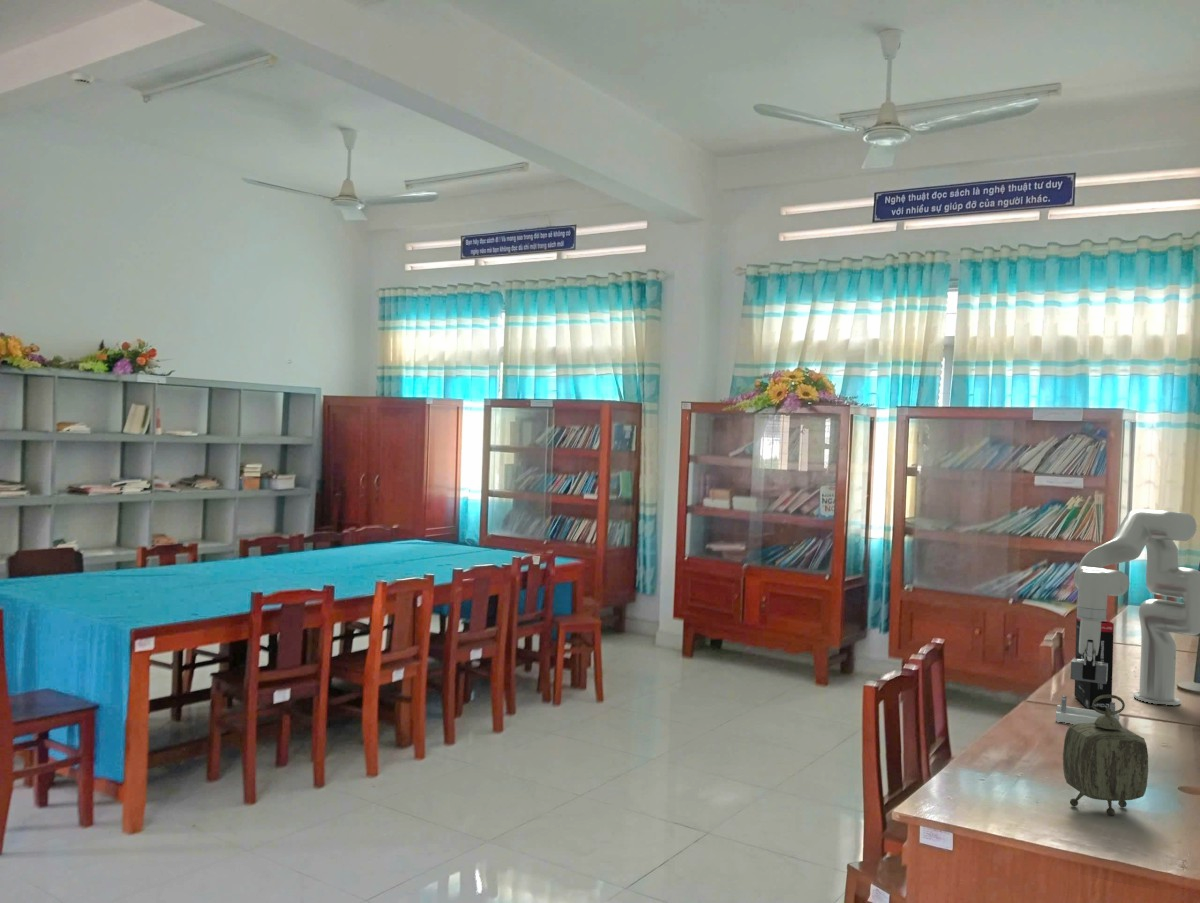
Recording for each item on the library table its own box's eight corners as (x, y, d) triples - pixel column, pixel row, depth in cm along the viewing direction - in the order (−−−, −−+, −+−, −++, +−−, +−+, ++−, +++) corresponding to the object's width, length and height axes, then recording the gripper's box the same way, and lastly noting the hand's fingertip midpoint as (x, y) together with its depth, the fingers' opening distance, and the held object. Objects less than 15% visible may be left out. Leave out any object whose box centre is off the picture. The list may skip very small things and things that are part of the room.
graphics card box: (1113, 713, 285) (1116, 621, 284) (1087, 711, 286) (1091, 620, 286) (1095, 698, 301) (1098, 612, 301) (1071, 696, 303) (1075, 610, 303)
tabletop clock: (1126, 804, 210) (1130, 690, 210) (1151, 821, 201) (1156, 701, 201) (1060, 803, 210) (1065, 688, 209) (1083, 819, 201) (1088, 700, 200)
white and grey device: (1057, 712, 283) (1057, 692, 283) (1118, 721, 276) (1119, 700, 276) (1055, 721, 273) (1056, 700, 273) (1119, 731, 266) (1120, 709, 266)
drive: (1072, 675, 279) (1072, 657, 279) (1107, 680, 274) (1108, 662, 274) (1070, 679, 274) (1071, 660, 274) (1106, 684, 270) (1106, 665, 270)
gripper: (1077, 608, 284) (1074, 669, 284) (1076, 616, 268) (1073, 681, 268) (1106, 611, 280) (1103, 673, 280) (1106, 619, 265) (1103, 685, 265)
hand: (1088, 676), depth 274 cm, fingers closed on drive, 5 cm apart
